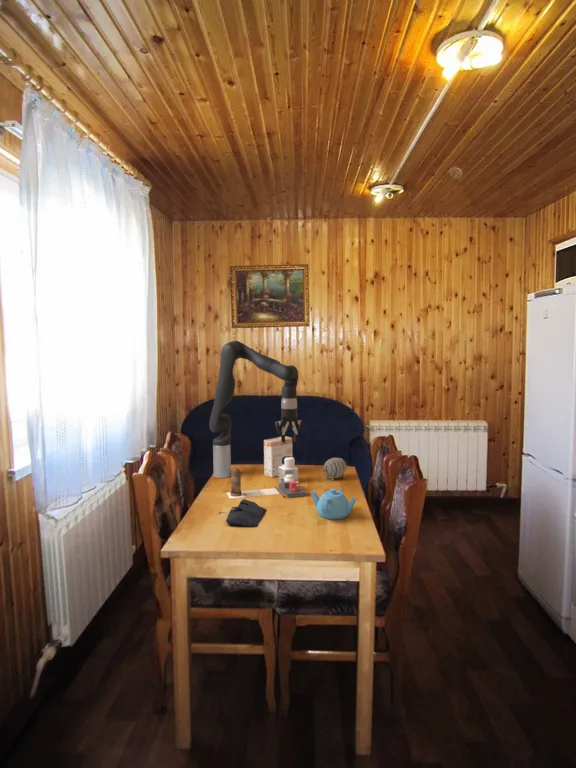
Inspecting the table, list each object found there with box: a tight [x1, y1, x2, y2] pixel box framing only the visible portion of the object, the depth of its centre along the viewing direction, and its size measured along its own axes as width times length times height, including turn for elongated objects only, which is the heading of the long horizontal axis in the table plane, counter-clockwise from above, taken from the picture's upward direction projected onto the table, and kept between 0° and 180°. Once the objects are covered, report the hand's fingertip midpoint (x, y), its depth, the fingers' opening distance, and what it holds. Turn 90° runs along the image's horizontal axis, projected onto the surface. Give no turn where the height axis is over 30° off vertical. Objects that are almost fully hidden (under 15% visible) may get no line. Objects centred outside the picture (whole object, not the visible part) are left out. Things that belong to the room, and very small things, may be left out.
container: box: [278, 455, 299, 483], centre depth 248 cm, size 8×8×13 cm
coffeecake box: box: [263, 435, 293, 478], centre depth 263 cm, size 15×7×20 cm, turn 130°
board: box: [226, 486, 285, 499], centre depth 226 cm, size 16×26×1 cm, turn 106°
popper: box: [278, 479, 307, 498], centre depth 231 cm, size 16×9×6 cm, turn 16°
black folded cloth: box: [225, 498, 267, 528], centre depth 199 cm, size 15×22×5 cm
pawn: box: [230, 467, 243, 496], centre depth 224 cm, size 5×5×13 cm
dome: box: [284, 474, 295, 483], centre depth 235 cm, size 6×6×4 cm
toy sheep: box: [321, 457, 348, 482], centre depth 253 cm, size 11×17×11 cm, turn 133°
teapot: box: [310, 488, 357, 520], centre depth 201 cm, size 15×15×11 cm
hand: (289, 442), depth 233 cm, fingers open, 5 cm apart
